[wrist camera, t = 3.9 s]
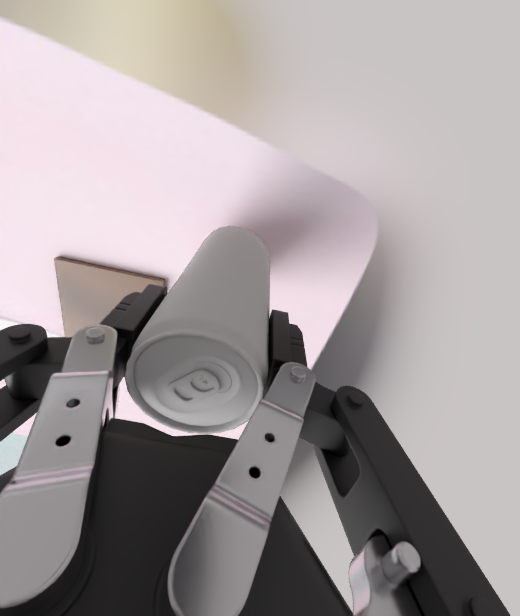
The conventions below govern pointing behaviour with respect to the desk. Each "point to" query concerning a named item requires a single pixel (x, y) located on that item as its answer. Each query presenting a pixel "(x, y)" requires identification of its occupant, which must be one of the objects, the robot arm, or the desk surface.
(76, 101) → the desk surface
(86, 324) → the coaster
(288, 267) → the desk surface
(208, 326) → the beverage can
